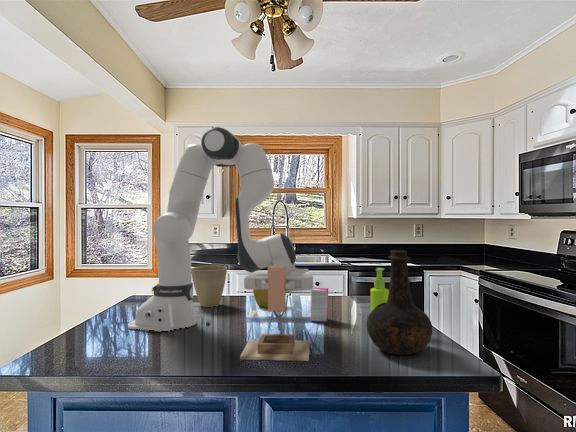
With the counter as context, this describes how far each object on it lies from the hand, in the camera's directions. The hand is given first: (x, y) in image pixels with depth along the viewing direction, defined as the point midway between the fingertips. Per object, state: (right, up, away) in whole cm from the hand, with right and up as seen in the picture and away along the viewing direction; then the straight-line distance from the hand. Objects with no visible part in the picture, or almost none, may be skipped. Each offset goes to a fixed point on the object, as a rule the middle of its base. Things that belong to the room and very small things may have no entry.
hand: (276, 286), depth 110 cm
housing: (0, -18, +1) cm, 18 cm away
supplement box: (+14, -18, +33) cm, 40 cm away
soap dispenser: (+34, -18, +22) cm, 44 cm away
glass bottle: (+34, -18, +1) cm, 39 cm away
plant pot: (-30, -18, +57) cm, 67 cm away
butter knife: (-11, -19, +37) cm, 43 cm away
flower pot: (-6, -18, +56) cm, 59 cm away
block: (0, -6, +1) cm, 7 cm away
